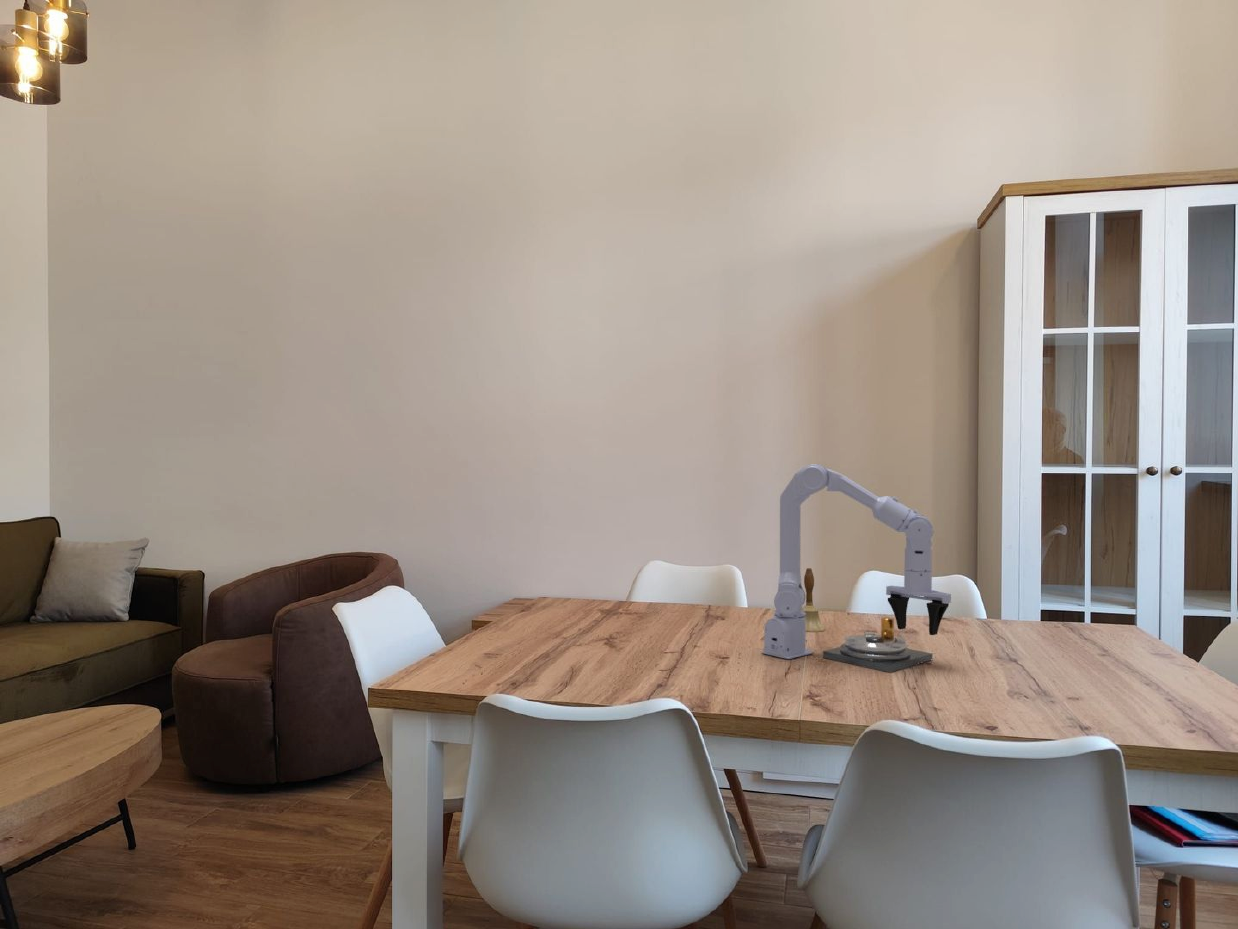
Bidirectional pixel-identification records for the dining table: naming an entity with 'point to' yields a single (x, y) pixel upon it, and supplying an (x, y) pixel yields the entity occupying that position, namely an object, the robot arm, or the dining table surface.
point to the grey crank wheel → (877, 640)
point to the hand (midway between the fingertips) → (917, 631)
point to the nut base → (878, 658)
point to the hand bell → (811, 605)
